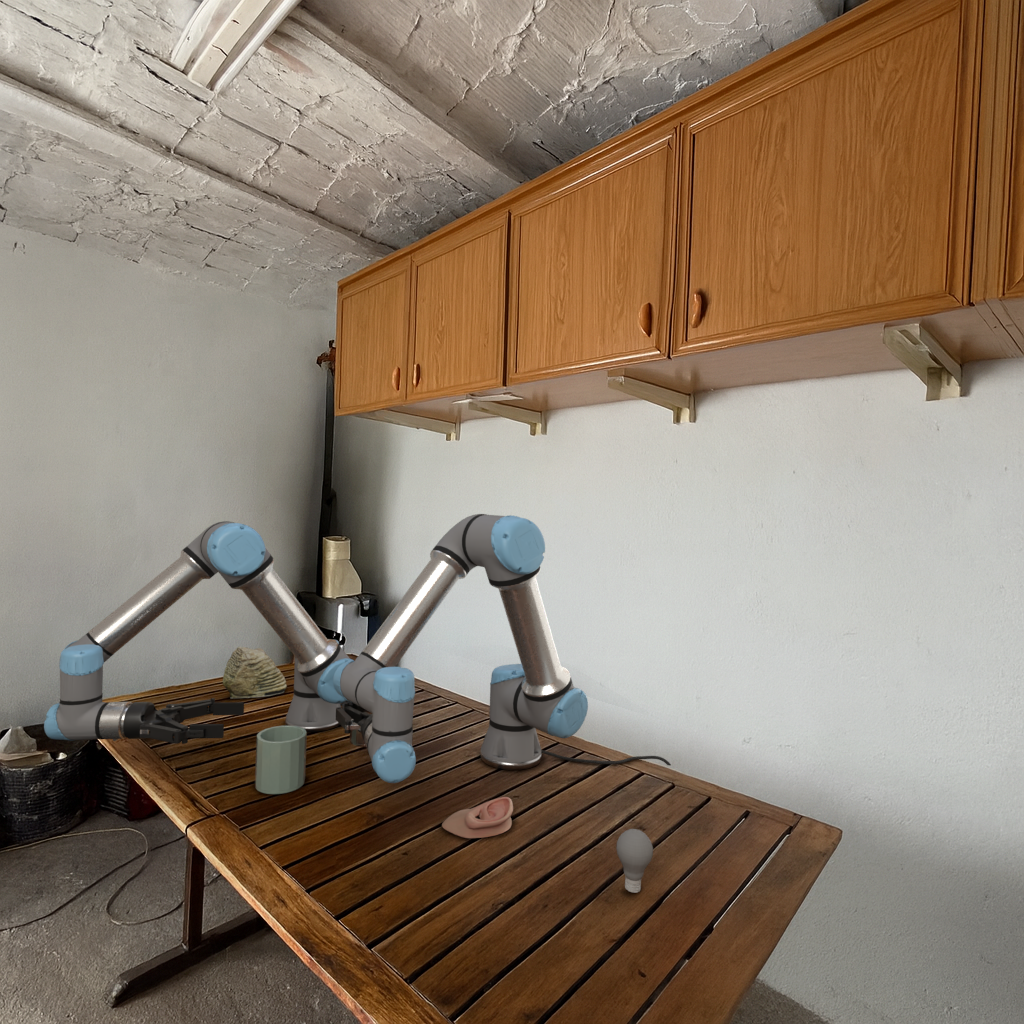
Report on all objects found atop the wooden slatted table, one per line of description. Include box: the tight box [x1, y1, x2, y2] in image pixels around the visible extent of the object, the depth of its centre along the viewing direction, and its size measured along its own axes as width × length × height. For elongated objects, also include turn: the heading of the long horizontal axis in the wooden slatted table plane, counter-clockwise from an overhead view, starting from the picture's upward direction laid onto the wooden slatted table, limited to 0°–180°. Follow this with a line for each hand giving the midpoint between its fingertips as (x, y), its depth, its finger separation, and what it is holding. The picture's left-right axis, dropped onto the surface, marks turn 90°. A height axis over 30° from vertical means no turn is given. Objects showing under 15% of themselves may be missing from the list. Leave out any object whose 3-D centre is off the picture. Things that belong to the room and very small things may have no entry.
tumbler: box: [349, 702, 373, 748], centre depth 145 cm, size 8×8×12 cm
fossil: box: [222, 646, 288, 699], centre depth 198 cm, size 9×18×15 cm, turn 132°
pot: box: [254, 725, 308, 795], centre depth 139 cm, size 10×10×11 cm
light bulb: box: [615, 828, 654, 894], centre depth 106 cm, size 6×6×10 cm
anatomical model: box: [441, 796, 514, 839], centre depth 125 cm, size 13×4×12 cm
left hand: (234, 719), depth 137 cm, fingers open, 13 cm apart
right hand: (367, 700), depth 149 cm, fingers closed on tumbler, 8 cm apart
